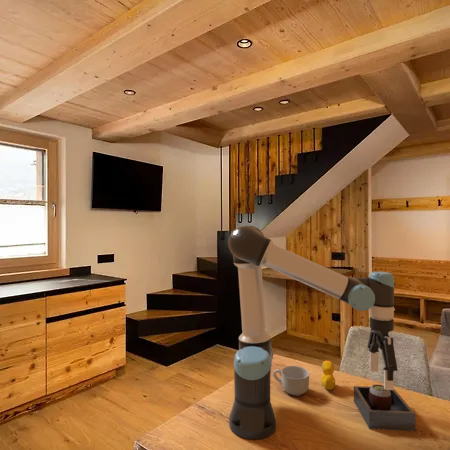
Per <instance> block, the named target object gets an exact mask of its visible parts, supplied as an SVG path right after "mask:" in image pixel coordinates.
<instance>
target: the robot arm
mask: <svg viewBox="0 0 450 450" xmlns="http://www.w3.org/2000/svg"><path fill="white" fill-rule="evenodd" d="M227 240H228V241H227V242H228V243H227V244H228V249H229V251H230V253H231V254H232V256H233V257H232V258H233V260H232V261H233V264H234V266H235V267H237V273H238V288H239V302H240V303H239V304H240V316H241V330H242V333H241V334H240V335H239V336H238V350H237V352H236V353H235V354H234V360H233V372H234V376H233V377H234V381H233V382H234V389H233V390H234V391H233V392H234V400H233V401H234V402H233V404H232V406H231V411H230V413H229V416H228V417H229V419H228V423H229V424H228V426H229V429H230V430H231V432H232V433H234V435H236V436H238V437H241V438H243V439H248V440H261V439H265V438H267V437H270V436H271V435H273V434H274V432H275V431H276V428H277V418H276V415H275V412H274V411H275V410H274V408H273V405H272V402H271V373H272V363H273V359H274V358H273V357H274V353H273V352H274V351H273V349H272V348H273V347H272V343H271V342H272V339H271V335H270V333H268V332H267V329H266V314H265V302H264V301H265V298H264V287H263V286H264V285H263V269H262V267H266V268H268V269H271V270H273V271H276V272H278V273H280V274H282V275H285V276H286V277H288V278H291V279H293V280H295V281H298V282H299V283H302V284H304V285H306V286H308V287H310V288H313V289H315V290H317V291H319V292H322V293H324V294H326V295H327V296H331V297H333V298H336V299H337V300H339V301H341V302H344V303H345V304H348V305H349V306H351V307H352V309H355V310H357V311H361V312H364V311H368V310H369V316H370V317H369V325H368V326H369V328H370V332H369V337H368V342H367V349H368V351H369V371H370V372H373V373H374V372H379V352H380V351H379V350H381V355H382V359H383V363H384V368H383V385H384V389H385V390H394V389H395V387H394V385H395V383H394V382H395V381H394V380H395V379H394V378H395V377H394V376H395V372H397V371H398V365H397V364H398V363H397V360H396V353H395V347H394V337H390V335H389V333H391V332H393V331H395V328H394V327H395V320H394V319H393V318H394V317H395V312H394V311H396V308H395V306H394V305H395V301H394V300H395V288H396V287H395V278H394V274H392V273H391V272H388V271H371V272H369V277H357V276H356V277H355V276H353V277H352V276H346V275H344V274H341V273H339V272H337V271H335V270H332V269H330V268H328V267H326V266H323V265H320V264H319V263H316V262H315V261H312V260H310V259H307V258H305V257H303V256H301V255H298V254H296V253H294V252H292V251H290V250H287V249H285V248H283V247H280V246H278V245H277V244H274V242H273V240H272V239H270V238H268V237H266V236H265V235H264V232H262V230H261V229H259V228H258V227H256V226H253V225H242V226H238V227H237V228H235V229H234V230H232V232H231V233H230V235H229V237H228V239H227Z"/></svg>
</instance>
